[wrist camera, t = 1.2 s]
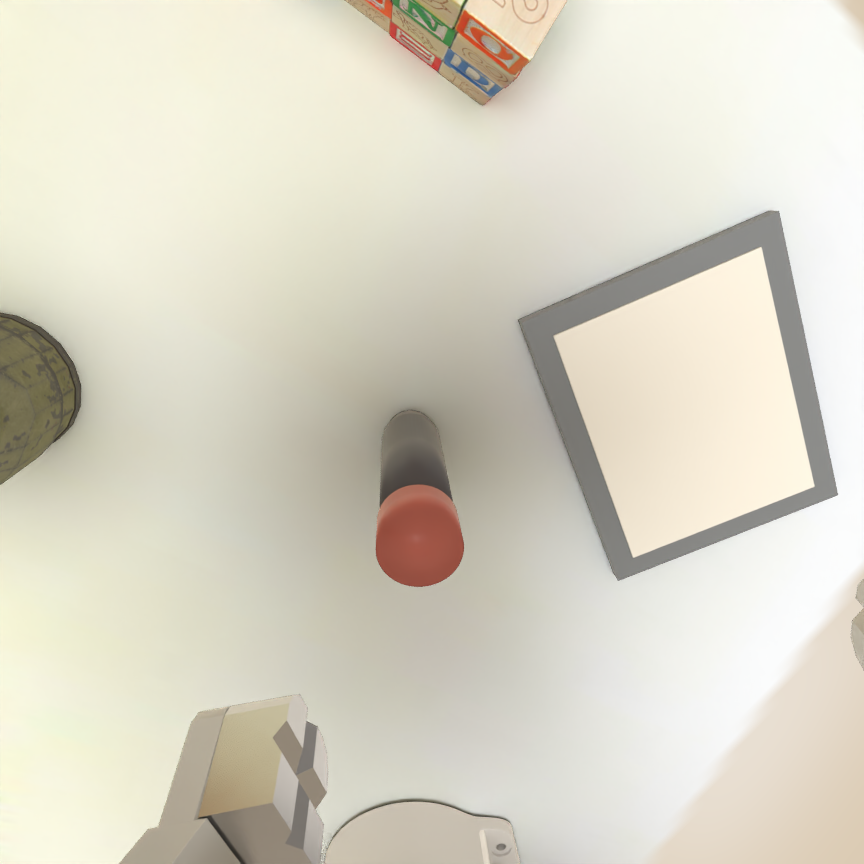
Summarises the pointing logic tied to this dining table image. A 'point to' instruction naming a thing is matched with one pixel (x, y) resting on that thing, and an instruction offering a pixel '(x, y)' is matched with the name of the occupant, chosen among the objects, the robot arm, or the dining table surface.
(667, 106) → the dining table surface
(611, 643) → the dining table surface
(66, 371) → the thermos
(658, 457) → the writing board
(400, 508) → the marker
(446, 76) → the stack of blocks
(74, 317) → the dining table surface
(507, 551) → the dining table surface
